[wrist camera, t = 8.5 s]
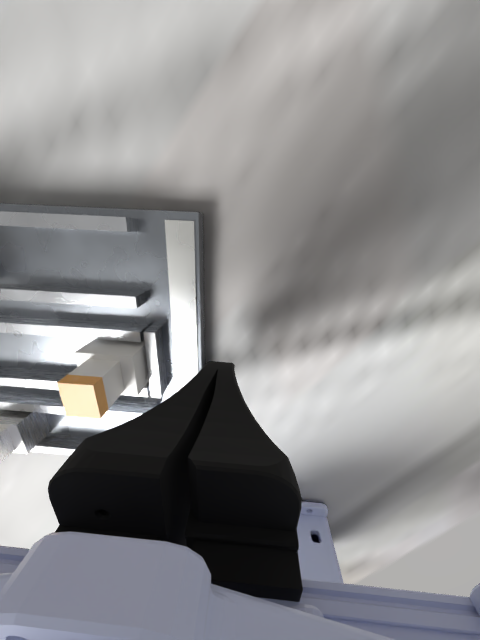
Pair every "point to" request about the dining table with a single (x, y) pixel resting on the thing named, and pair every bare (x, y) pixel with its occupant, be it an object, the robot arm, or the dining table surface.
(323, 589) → the robot arm
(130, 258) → the panel
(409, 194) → the dining table surface
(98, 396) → the breaker
